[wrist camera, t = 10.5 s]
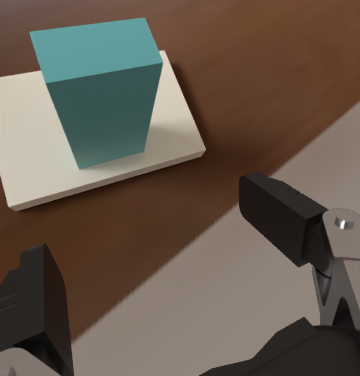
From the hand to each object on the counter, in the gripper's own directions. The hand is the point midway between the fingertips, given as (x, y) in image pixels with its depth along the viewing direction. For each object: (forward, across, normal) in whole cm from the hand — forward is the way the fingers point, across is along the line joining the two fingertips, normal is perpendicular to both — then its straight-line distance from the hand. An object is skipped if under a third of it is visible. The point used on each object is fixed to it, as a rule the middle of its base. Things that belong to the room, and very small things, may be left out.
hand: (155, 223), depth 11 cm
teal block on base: (+10, 0, -1) cm, 10 cm away
